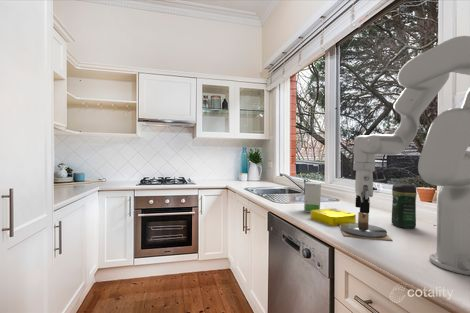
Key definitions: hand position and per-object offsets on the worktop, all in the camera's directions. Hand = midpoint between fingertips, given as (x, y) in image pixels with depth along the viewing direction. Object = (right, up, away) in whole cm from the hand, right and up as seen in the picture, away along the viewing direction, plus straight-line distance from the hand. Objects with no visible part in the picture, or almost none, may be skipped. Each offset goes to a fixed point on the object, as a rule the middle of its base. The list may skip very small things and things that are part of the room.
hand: (361, 210), depth 100 cm
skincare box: (-9, -9, +36) cm, 38 cm away
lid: (0, -8, -1) cm, 8 cm away
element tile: (-5, -9, +18) cm, 20 cm away
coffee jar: (+23, -9, +10) cm, 27 cm away
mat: (0, -9, -1) cm, 9 cm away
